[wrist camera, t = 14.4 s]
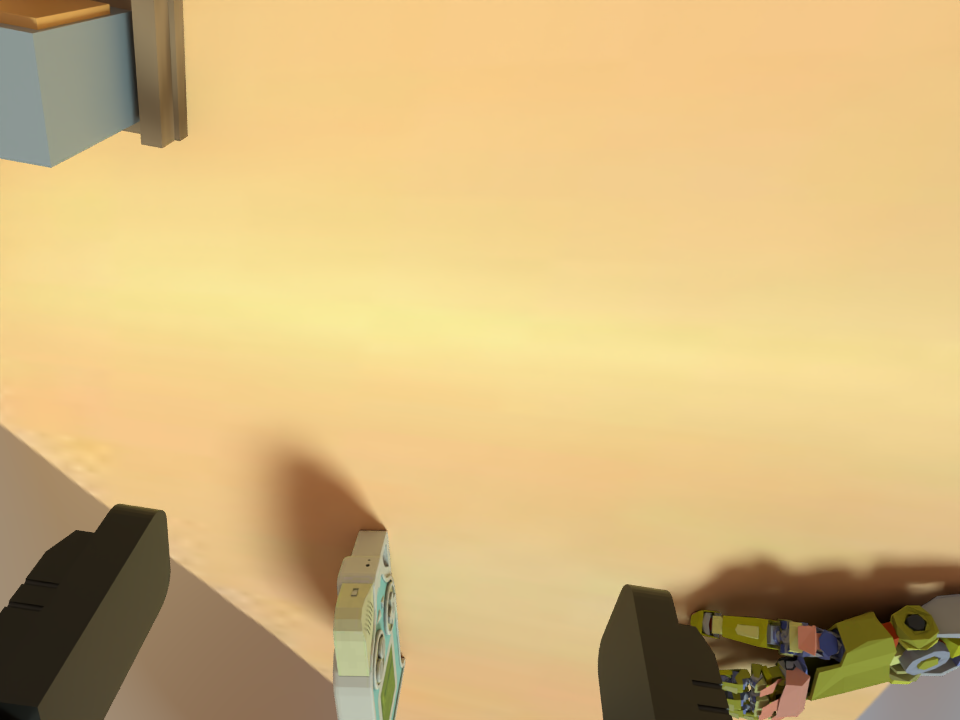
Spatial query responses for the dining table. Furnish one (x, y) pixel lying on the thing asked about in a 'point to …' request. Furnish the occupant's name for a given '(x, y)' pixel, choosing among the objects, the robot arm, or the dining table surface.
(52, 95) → the grey rectangular block
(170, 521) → the dining table surface
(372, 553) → the grey rectangular slab
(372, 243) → the dining table surface
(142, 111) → the rail
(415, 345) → the dining table surface
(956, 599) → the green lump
